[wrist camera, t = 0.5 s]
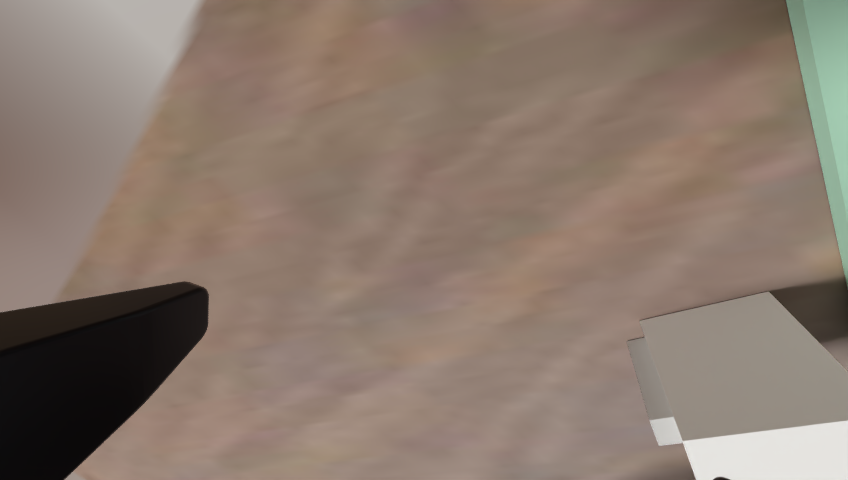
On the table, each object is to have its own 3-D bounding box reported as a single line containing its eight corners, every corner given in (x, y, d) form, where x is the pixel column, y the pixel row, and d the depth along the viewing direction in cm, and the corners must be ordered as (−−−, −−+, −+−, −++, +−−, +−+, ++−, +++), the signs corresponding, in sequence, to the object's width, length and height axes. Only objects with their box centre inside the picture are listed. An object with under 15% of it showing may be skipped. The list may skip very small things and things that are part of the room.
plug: (784, 351, 18) (907, 499, 12) (639, 377, 21) (680, 514, 14) (768, 291, 18) (890, 415, 11) (620, 325, 20) (654, 444, 14)
